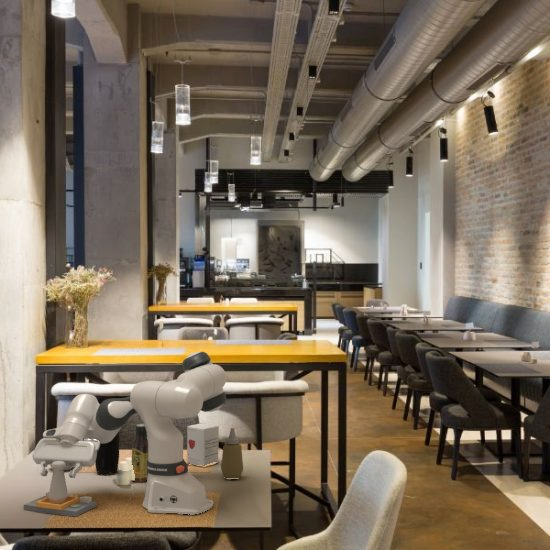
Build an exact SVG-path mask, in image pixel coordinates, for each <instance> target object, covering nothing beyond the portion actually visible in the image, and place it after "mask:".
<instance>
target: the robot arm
mask: <svg viewBox="0 0 550 550" xmlns="http://www.w3.org/2000/svg"><path fill="white" fill-rule="evenodd" d="M181 364H182V370H183V373H181V374H180V375H179V376H178V377H177V379H171V380H169V381H161V380H143V381H139V382H137V383H135V385H134V386H133V387H132V389H131V391H130V395H129V396H127V397H122V398H117V397H116V398H107V399H105V400H103V401H102V402H101V403H99V401H98V398H97V397H96V396H95V395H93V394H90V393H81V394H78V395H76V396H75V397H74V398H73V399H72V401H71V402H70V404H69V406H68V408H67V410H66V413H65V416H64V417H65V419H64V421H63V422H62V424H61V426H59V427H56V428H52V429H48V430H45V431H44V432H43V433H42V438H41V439H40V440H39V441H38V442H37V443H36V446H35V448H34V450H33V453H32V460H33V462H34V463H35V464H36V465H40V466H41V467H40V468H41V470H40V472H39V474H40V476H42V477H47V476H48V473H49V471H48V469H47V468H48V465H49V466H50V465H52V463H53V462H55V461H64V462H65V464H66V466H73V467H74V468H73V469H72V470H71V469H69V473H68V477H69V478H70V479H75V478H76V477H77V474H78V473H79V472H80V471H81V470H82V469H83V467H84V468H87V467H88V468H92V467H93V466H95V461H96V457H97V451H98V450H99V447H100V444H105V443H109V442H110V441H112V440H113V438H114V437H115V436H116V434H117V433H118V431H119V432H120V430H121V429H122V427H123V426H125V424H126V423H127V422H128V420H129V419H130V418H131V417H133V416H135V415H139V417H140V418H141V421H142V422H143V423H142V424H144V425H145V428H146V432H147V440H148V460H147V481H146V486H145V487H146V488H145V494H144V498H143V501H142V506H143V508H145V509H146V510H147V512H148V513H153V514H166V513H178V514H177V515H183V514H188V516H196V515H195V514H197V515H200V514H199V513H201V514H203V513H205V511H206V512H208V511H209V510H211V509H212V508H213V507H214V505H213V504H214V500H213V499H208V498H207V497H208V496H207V492H206V487H205V485H204V483H202V482H201V481H200V480H199V479H197V478H196V477H195V476H194V475H192V474H191V473H190V472H189V467H191V465H189V464H190V462H189V463H187V461H185V459H184V436H183V433H182V431H180V430H179V429H178V428H177V427H176V426H175V425H174V423H173V420H172V419H180V420H182V419H189V418H190V419H191V418H195V417H196V416H198V415H199V414H200V412H201V411H202V412H204V413H207V412H209V413H210V412H215V411H218V410H219V409H221V408H222V407H223V405H225V404H226V401H227V396H226V392H225V391H224V388H223V387H224V386H225V385H226V382H227V374H226V371H225V370H224V368H223V367H222V366H221V365H218V364H216V363H215V364H213V362H212V359H211V356H209V354H208V353H207V352H205V351H193V352H192V353H189V355H187V356H186V357H185V359H183V361H182V363H181ZM212 506H213V507H212ZM211 507H212V508H211ZM210 508H211V509H210ZM207 510H208V511H207ZM202 512H203V513H202ZM189 514H190V515H189Z"/></svg>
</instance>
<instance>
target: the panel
mask: <svg viewBox="0 0 550 550" xmlns="http://www.w3.org/2000/svg"><path fill="white" fill-rule="evenodd" d="M48 496H49V491H48V492H46V493H45V495H43V496H41V497H38V498H36V499H35V500H31V501H29V502H27V503H25V504H23V511H29V512H36V511H37V513H45V514H52V515H58V514H60V516H65V515H67V517H72V516H74V517H75V518H77V517H78V515H79V516H81V515H83V514H85V513H86V512H88V510H89V511H90V509H91V510H93V509H95V508H96V507H97V501H94V500H93V499H92V496H85V495H83V496H81V497H80V496H75V494H71V493H68V496H67V499H66V501H65V503H64V504H61V505H60V504H52V503H51V502H50V500H49V498H48ZM94 507H95V508H94ZM92 508H93V509H92ZM84 512H85V513H84ZM82 513H83V514H82ZM80 514H81V515H80ZM76 516H77V517H76Z"/></svg>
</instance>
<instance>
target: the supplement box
mask: <svg viewBox="0 0 550 550" xmlns="http://www.w3.org/2000/svg"><path fill="white" fill-rule="evenodd" d="M186 429H187V435H186V436H187V437H186V438H187V440H186V441H187V442H186V443H187V444H186V445H187V446H186V448H187V449H186V463H189V462H190V464H194V465H202V466H205V465H207V464H210V463H213V462H217V461H218V462H219V439H220V438H219V435H220V434H219V433H220V432H219V429H220V426H219V425H218V424H210V423H205V422H204V423H203V422H200V423H197V424H191V425H188V426H187V428H186Z"/></svg>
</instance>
